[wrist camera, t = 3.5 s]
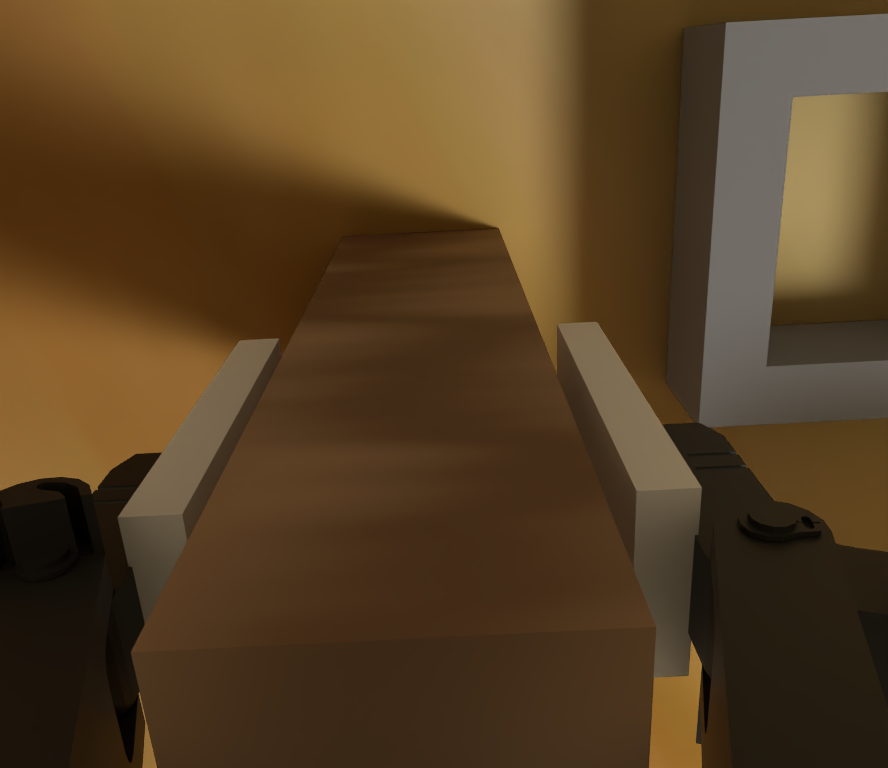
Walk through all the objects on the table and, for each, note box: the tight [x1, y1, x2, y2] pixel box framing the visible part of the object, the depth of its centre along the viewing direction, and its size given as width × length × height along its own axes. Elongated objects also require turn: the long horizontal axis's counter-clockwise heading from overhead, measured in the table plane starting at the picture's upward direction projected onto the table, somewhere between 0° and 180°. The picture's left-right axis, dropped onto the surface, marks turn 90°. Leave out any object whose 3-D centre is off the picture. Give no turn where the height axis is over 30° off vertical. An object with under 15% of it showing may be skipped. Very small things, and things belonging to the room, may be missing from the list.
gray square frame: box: [666, 14, 888, 428], centre depth 20 cm, size 9×9×3 cm
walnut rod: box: [131, 228, 656, 768], centre depth 14 cm, size 4×4×16 cm
